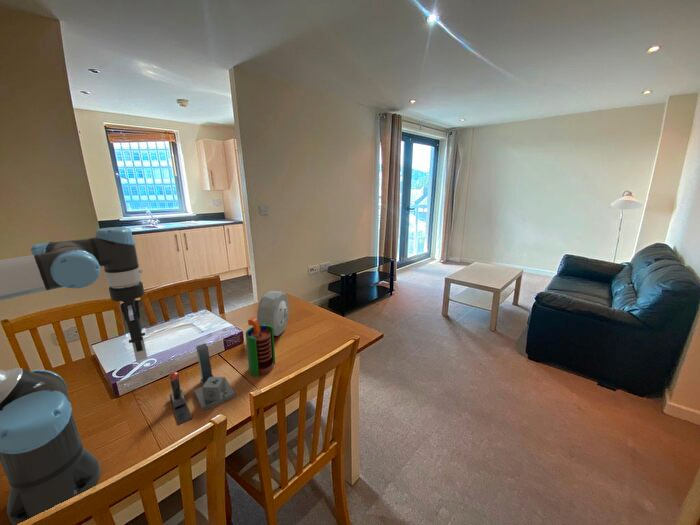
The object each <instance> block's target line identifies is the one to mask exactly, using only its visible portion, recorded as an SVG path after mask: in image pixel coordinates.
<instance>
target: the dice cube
mask: <svg viewBox="0 0 700 525" xmlns="http://www.w3.org/2000/svg"><path fill="white" fill-rule="evenodd" d="M225 378H226V377H225V376H214V377H209V378H208V380H207V381H206V382H205V384H204V385H203V386H201V387H202V390H203V396H204V401H220V400H221V398H222V396H223V395H224V393H225V391H226V384H225Z"/></svg>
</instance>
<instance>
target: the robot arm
mask: <svg viewBox="0 0 700 525" xmlns="http://www.w3.org/2000/svg"><path fill="white" fill-rule="evenodd" d="M30 247H31V248H30V252H31V255H26V256H18V257H11V258H6V259H0V302H1V301H6V300H11V299H15V298H20V297H25V296H29V295H31V294H32V295H33V294H37V293H43V292H47V291H51V290H56V289H61V288H69V289H82V288H85V287H88V286H90V285H93V283H95V282H96V281H97V280H98V279H99V277H100V275H101V267H103V269H104V275H105V276H104V277H105V280H106V284H107V286H109V287H108V290H109V296H110V299H111V300H112V301H113V302H118V303H119V302H121V306H120V309H121V313H123V318H124V321H126V325H127V329H128V331H129V335H130V336H129V337H130V339H129V340H128V343H129V344H132V348H133V352H134V357H135V358H134V359H135V361H136V362H139V361H142V360H147V359H148V354H147V348H146V344H145V340H144V337H145V336H146V333H145V332H143V329H142V327H141V322H140V321H141V320H140V318H141V312H140V303H139V300H138V299H139V298H141V297H142V296H144V294H145V288H144V285H143V282H142V275H141V274H143V272H144V271H143V269H140V265H139V259H138V254H137V248H136V243H135V240H134V236H133V233H132V230H131V229H130V228H128V227H125V226H114V227H113V226H111V227H103V228H98V229H97V230H96V231H95V237H91V238H90V237H89V238H81V239H74V240H72V239H71V240H62V241H49V242H48V241H47V242H45V243H38V244H34V245H32V246H30ZM0 464H1V468H2V469H3V472H4V474H5V476H6V479H7V481H8V483H9V493H8V500H7V505H6V514H7V517H8V521H9V522H10V524H11V525H17V524H18V523H20V522H23V521H25V520H27V519H29V518H31V517H33V516H35V515H37V514H39V513H41V512H44V511H45V510H48V509H50V508H52V507H54V506H55V505H57V504H59V503H62V502H64V501H66V500H68V499H70V498H72V497H74V496H76V495H78V494H80V493H82V492H84V491H86V490H88V489H90V488H92V487H93V486H95V485H96V486H97V483H98V482H99V480H100V478H101V474H102V473H101V472H102V469H101V465H100V461H99V460H98V459H97V457H96V456H94V454H92V453H91V452H90V451H89V450H88V449H87V448H85V447H84V446H83V442H82V439H81V435H80V433H79V429H78V427H77V424H76V420H75V417H74V414H73V408H72V404H71V400H70V395H69V390H68V386H67V383H66V382H65V380H64V379H63V378H62V377H61V376H60V375H59V374H58V373H56V372H54V371H51V370H46V369H34V370H28V369H25V368H22V367H15V368H12V369H8V370H3V369H0Z"/></svg>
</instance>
